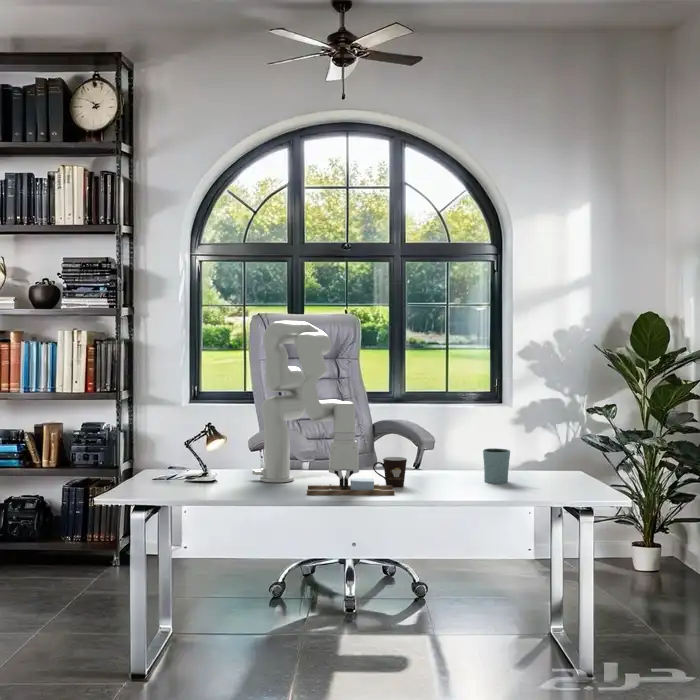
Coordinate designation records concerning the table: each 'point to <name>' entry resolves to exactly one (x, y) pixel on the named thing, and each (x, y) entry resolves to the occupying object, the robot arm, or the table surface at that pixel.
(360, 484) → the block
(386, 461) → the coffee mug
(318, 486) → the wooden rail frame
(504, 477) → the green tapered cup
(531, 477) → the table surface
